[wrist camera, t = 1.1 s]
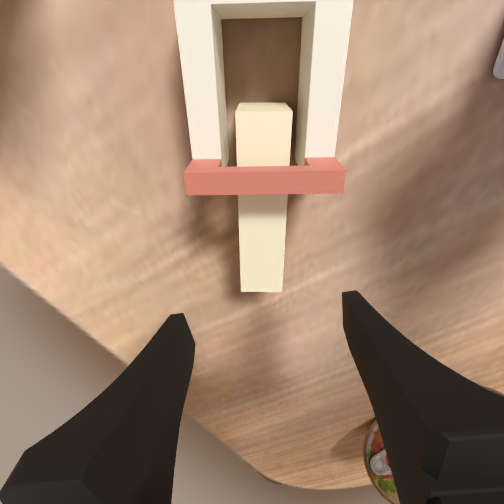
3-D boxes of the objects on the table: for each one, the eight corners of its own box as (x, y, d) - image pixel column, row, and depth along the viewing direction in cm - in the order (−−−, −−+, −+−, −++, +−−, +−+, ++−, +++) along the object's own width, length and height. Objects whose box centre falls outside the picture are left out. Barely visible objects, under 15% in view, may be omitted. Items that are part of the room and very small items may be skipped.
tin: (494, 370, 28) (574, 472, 21) (503, 386, 30) (582, 488, 22) (352, 423, 33) (378, 520, 26) (365, 435, 35) (394, 531, 27)
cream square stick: (285, 101, 17) (293, 111, 13) (278, 253, 22) (282, 292, 18) (239, 102, 17) (234, 111, 13) (243, 253, 22) (240, 291, 18)
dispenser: (333, -16, 14) (380, -69, 9) (317, 157, 18) (342, 193, 13) (190, -12, 14) (150, -61, 9) (206, 159, 18) (186, 195, 13)
